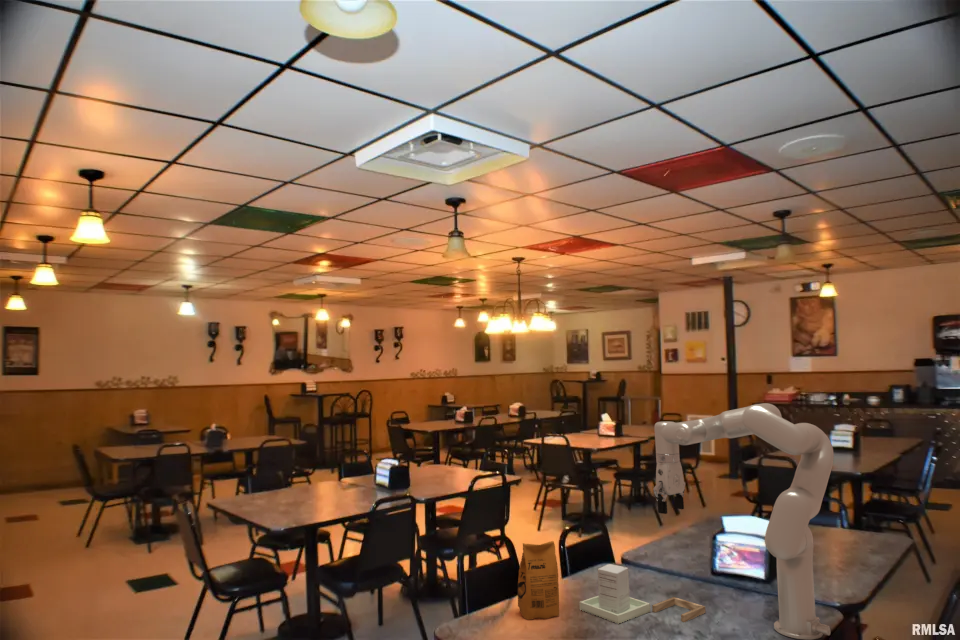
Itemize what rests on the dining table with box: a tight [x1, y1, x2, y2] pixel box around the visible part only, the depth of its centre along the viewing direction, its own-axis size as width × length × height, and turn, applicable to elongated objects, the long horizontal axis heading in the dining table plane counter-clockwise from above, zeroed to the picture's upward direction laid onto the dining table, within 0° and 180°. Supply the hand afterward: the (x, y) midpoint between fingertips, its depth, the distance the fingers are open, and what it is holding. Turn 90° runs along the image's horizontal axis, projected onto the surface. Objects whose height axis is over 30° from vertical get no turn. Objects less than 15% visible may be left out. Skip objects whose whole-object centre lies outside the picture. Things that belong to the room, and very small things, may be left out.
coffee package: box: [517, 540, 560, 621], centre depth 202 cm, size 10×12×22 cm
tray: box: [579, 595, 651, 625], centre depth 202 cm, size 16×16×2 cm
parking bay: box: [651, 596, 707, 623], centre depth 200 cm, size 12×12×2 cm
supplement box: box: [597, 563, 631, 614], centre depth 203 cm, size 7×7×13 cm
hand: (671, 511), depth 212 cm, fingers open, 9 cm apart
